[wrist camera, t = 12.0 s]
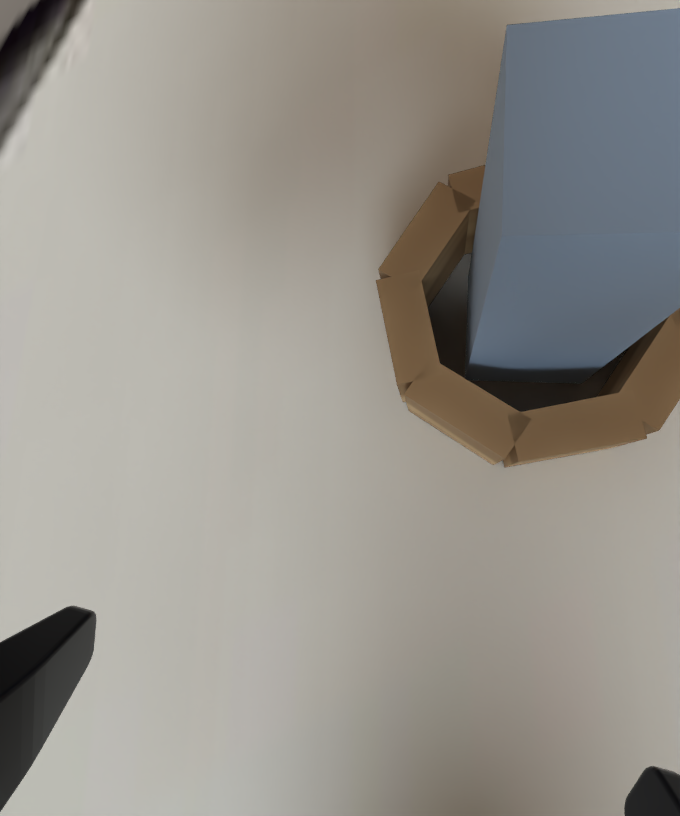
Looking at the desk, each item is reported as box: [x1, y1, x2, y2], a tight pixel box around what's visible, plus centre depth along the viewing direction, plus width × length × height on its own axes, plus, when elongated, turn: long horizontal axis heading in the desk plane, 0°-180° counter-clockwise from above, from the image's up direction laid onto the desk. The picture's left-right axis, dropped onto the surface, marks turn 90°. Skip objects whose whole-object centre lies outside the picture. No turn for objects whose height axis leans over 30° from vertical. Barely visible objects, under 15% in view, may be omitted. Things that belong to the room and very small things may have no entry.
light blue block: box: [465, 8, 680, 383], centre depth 15 cm, size 4×4×12 cm
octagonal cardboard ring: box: [376, 165, 680, 467], centre depth 19 cm, size 11×11×4 cm
